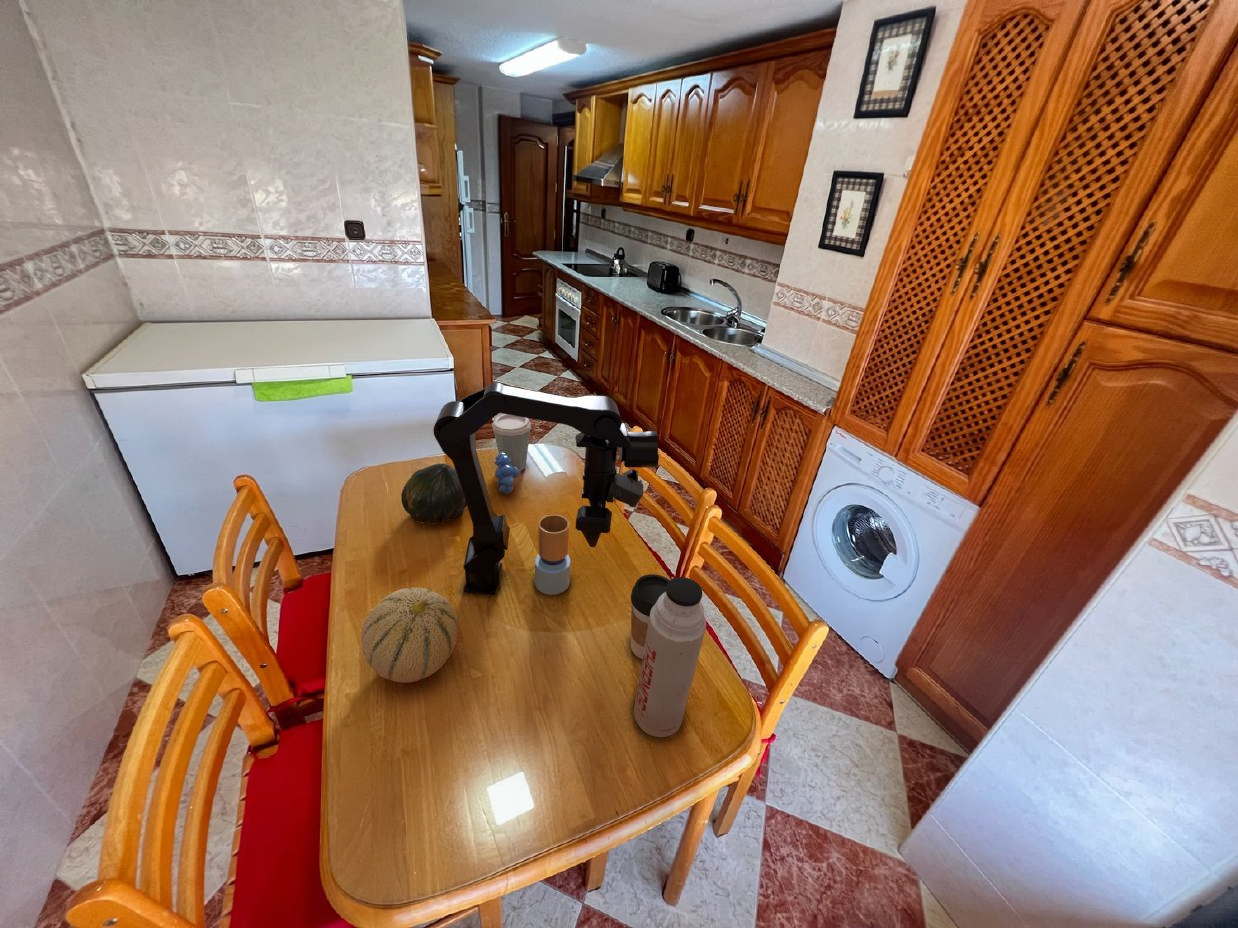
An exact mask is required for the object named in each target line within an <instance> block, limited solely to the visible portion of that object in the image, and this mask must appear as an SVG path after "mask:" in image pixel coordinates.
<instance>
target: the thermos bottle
mask: <svg viewBox="0 0 1238 928" xmlns="http://www.w3.org/2000/svg"><path fill="white" fill-rule="evenodd" d="M669 580H670V581H669V582H668V584H667V587H666V592H665V593H663V594H662V595H661V596H660V597H659V599H658V600H657V602H656V604H655V605H654V606H653V607H652V609H651V612H650V617H649V623H648V629H647V635H646V641H645V647H644V652H643V659H641V663H642V664H641V668H640V671H639V672H640V673H639V677H638V683H637V689H636V695H635V701H634V707H633V715H634V719H635V722H636V724H637V725H638V727H639V728H640V729H641V730H642V731H643V732H644V733H646V734H647V735H650V736H652V737H655V738H667V737H670V736H672V735H674V734H676V733H677V732H678V730H679V729H680V728H681V725H682V723H683V720H684V715H685V711H686V708H687V704H688V700H689V694H690V691H691V687H692V684H693V680H694V677H695V673H696V668H697V664H698V661H699V660H698V659H699V657H700V652H701V649H702V644H703V640H704V636H705V633H706V629H707V619H706V616H705V607H704V605H703V603H702V597H703V589H702V586H701V585H700V584H699V583H698V582H697V581H695V580H694V579H693V578H689V577H686V576H677V577H674V578H671V579H669Z"/></svg>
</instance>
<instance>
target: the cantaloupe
mask: <svg viewBox="0 0 1238 928" xmlns="http://www.w3.org/2000/svg"><path fill="white" fill-rule="evenodd" d="M458 627H459V626H458V617H457V614H456V612H455V611H454V609H453V607H452V606H451V603H450V602H449V600H448V599H447V598H446V597H445V596H443V595H441V594H440V593H438V592H435V591H433V590H430V589H428V588H425V587H417V586H416V587H414V586H413V587H406V588H400V589H398V590H395V591H393V592H391V593H390V594H387V595H386V596H385V597H383V599H381V600H380V601H379V602H378V604H377V605H376V606H375V607H374V608H372V609H371V610H370V611H369V613H368V615H367V617H366V618H365V620H364V622H363V624H362V628H361V634H360V635H361V636H360V639H361V646H362V648H361V649H362V655H363V656H364V659H365V661H366V664H367V665H368V666H369V667H370V668H371V669H372V670H373V671H374V672H375V673H376V674H377V675H378V676H379V677H381V678H384V679H386V680H390V681H393V682H397V683H413V682H418V681H420V680H423V679H425V678H428V677H430V676H431V675H433V674H435V673H436V672H437V671H438V670H440V669H441V668H442V667H443V666H444V664H445V663H446V662H447V660H448V659H450V656H451V655H452V654H453V651H454V649H455V647H456V644H457V640H458V629H459V628H458Z"/></svg>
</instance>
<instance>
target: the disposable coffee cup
mask: <svg viewBox="0 0 1238 928" xmlns="http://www.w3.org/2000/svg"><path fill="white" fill-rule="evenodd" d="M491 429H492V431H493V436H494V439H495V443H496V447H497V452H498V454H499V453H501V452H503V453H505V454H506V455H507V456H508V457H509V458H510V459H511V462H510V463H509V464H511V466H512V467H516V468H518V469H519V470H520V471H521V472H522V470H524V469H525V467H526V464H527V459H528V451H529V443H530V437H531V436H530V435H531V429H532V422H531V421H530V418H525V417H519V416H513V415H508V414H502V413H501V414H500V415H499V416H497V417H495V419H494V421H493V422H492V423H491Z"/></svg>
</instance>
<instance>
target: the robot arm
mask: <svg viewBox="0 0 1238 928" xmlns="http://www.w3.org/2000/svg"><path fill="white" fill-rule="evenodd" d="M499 414H501V415H502V414H508V415H513V416H519V417H525V418H528V419H529V420H530V419H532V420H535V421H536V420H537V421H543V422H548V423H554V424H560V425H565V426H568V427H571V428H573V429H575V430H576V431H578V432H579V433H577V434H576V435H575V446H576V448H585V449H584V450H585V452H584V454H585V455H584V465H583V472H582V480H583V485H582V486H583V487H582V490H581V499H586V500H588V503H589V505H582V506H580V507H579V508H578V510H577V513H576V518H575V530H577V531H579V532H581V534H582V535H583V537H584V539H585V540H586V542H587V544H588V546H589V547H590V548H596V547H597V544H598V542H599V539H600V537H601V535H602V534H608V533H610V532H611V527H612V526H611V525H612V518H613V517H612V516H613V511H611V510H610V509H609V508H608V507H607V506H606V505H607V503H611V504H614V500H616V501H618V502H620V503H623V504H625V505H628V506H629V507H630V508H636V507H637V506H638V504H639V502H640V501H641V499H642V497H643V496H644V484H643V483H642V482H643V481H642V479H639V471H638V470H637V469H636V468H638V469H639V468H649V469H650V468H651V469H652V468H653V469H655V468H658V465H659V461H660V455H659V444H658V439H659V435H658V432H657V431H656V430H648V431H628V430H627V427H626V423H624V421H623V420H622V418H621V415H620V411H619V407H618V405H617V403H616V402H615V401H614V399H613V398H611V397H609V396H605V395H583V396H579V397H567V396H562V395H556V394H551V393H546V392H540V391H536V390H535V391H534V390H529V389H524V388H520V387H519V388H518V387H514V386H509V385H504V384H503V383H500V382H493V383H489V384H488V385H487V386H485V387H484V388H482V389H479V390H477V391H475V392H472V393H470V394H467V395H466V396H464V397H463V398H461V399H460V400H453V401H449V402H447V403H446V404H444V405H443V406H442V408H441V409H440V411H439V413H438V416H437V419H436V421H435V423H434V425H433V428H432V431H433V436H434V438H435V440H436V442H437V444H438V446H439V448H440V449H441V451H442V452H443V453H444V454H445V455H446V457H448V459H450V461H452V463H453V466H454V467H453V468H454V469H455V470H456V473H457V476H458V479H459V482H460V486H461V489H462V492H463V495H464V498H465V501H466V504H467V506H466V507H467V511H468V514H469V517H470V520H471V523H472V536H470V537H469V539H468V543H467V548H466V552H465V557H464V560H463V561H464V562H463V570H464V574H465V584H464V586H463V589H462V590H463V592H465V593H474V594H484V595H485V594H486V595H495V594H496V592H497V590H498V588H499V587H500V585H501V584H502V581H503V578H504V572H503V571H504V570H503V563H502V562H501V561H502V560H503V559H504V558H505V556H506V551H508V549H509V539H510V528H511V527H510V526H509V525H508V523H507V516H506V514H501V515H498V513H496V512H495V510H494V506H493V504H492V500H491V497H490V493H489V489H488V487H487V483H486V480H485V476H484V473H483V469H482V466H481V462H480V460H479V459H480V458H479V456H478V453H477V432H478V431H479V430H480V429H481V428H483V427H484V426H485V425H486V424H487V423H488V422H489V421H491V420H492V419H493V418H494V417H496V416H497V415H499ZM617 454H618V460H619V462H620V463H623V466H624V467H625V468H630V469H628V470H626V471H625V472H622V473H618V467H617V465H616V463H617Z"/></svg>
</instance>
